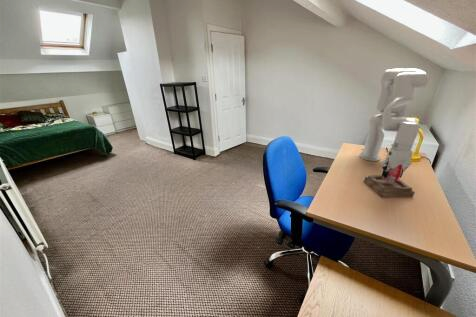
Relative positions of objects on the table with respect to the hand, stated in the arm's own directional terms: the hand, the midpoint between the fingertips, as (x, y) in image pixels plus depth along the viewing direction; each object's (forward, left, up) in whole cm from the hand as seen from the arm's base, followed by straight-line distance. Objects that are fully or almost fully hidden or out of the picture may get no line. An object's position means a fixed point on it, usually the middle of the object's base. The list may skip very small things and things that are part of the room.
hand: (391, 176), depth 107 cm
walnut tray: (0, 0, -8) cm, 8 cm away
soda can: (0, 0, -3) cm, 3 cm away
